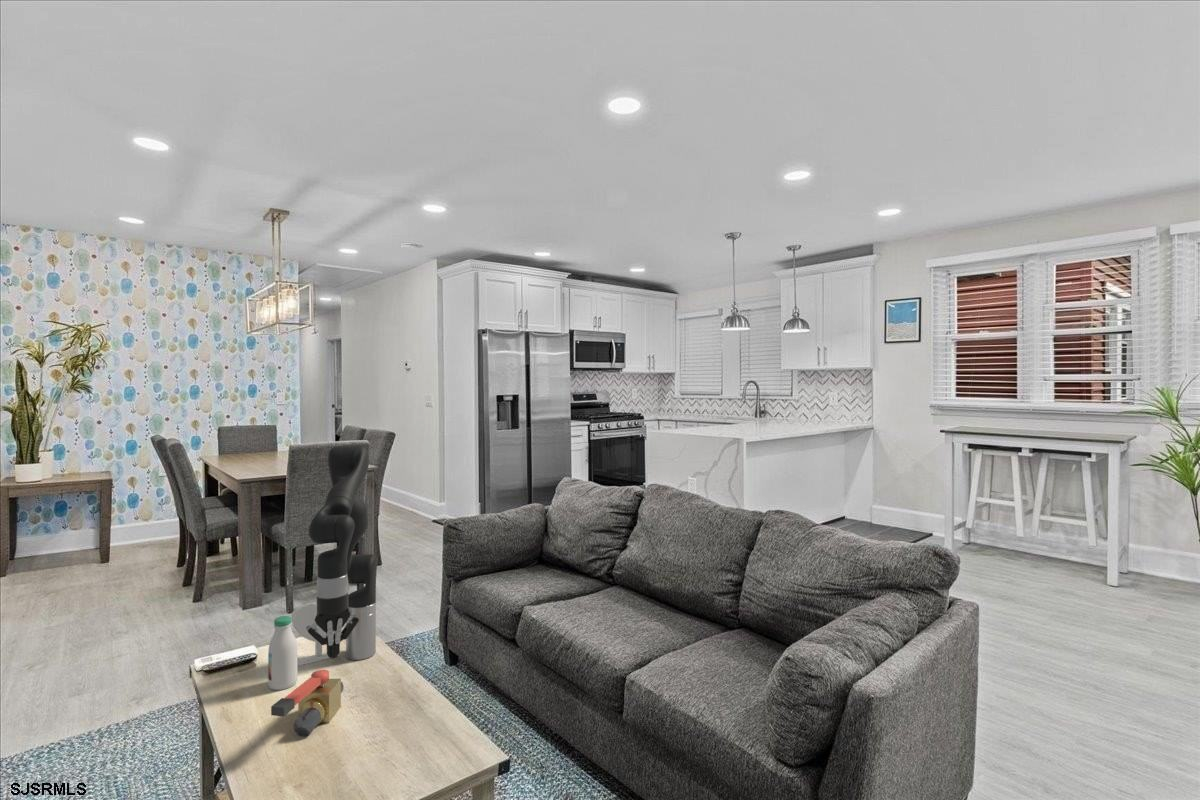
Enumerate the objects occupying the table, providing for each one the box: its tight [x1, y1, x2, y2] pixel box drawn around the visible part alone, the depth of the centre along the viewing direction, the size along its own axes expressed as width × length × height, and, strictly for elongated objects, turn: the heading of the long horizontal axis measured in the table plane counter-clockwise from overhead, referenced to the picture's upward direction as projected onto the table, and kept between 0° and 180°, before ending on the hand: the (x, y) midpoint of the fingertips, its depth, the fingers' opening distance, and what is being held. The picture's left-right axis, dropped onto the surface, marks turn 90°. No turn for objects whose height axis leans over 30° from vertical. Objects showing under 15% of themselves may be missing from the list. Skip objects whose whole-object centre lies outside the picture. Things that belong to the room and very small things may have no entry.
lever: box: [270, 669, 330, 717], centre depth 157 cm, size 20×4×2 cm, turn 172°
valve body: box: [293, 678, 345, 737], centre depth 165 cm, size 20×8×9 cm, turn 2°
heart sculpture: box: [291, 602, 341, 666], centre depth 199 cm, size 16×5×18 cm, turn 128°
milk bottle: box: [267, 615, 298, 691], centre depth 181 cm, size 8×8×20 cm
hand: (333, 657), depth 157 cm, fingers closed
